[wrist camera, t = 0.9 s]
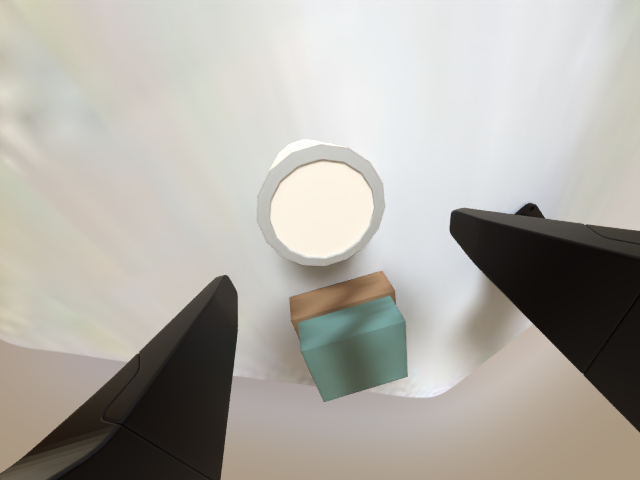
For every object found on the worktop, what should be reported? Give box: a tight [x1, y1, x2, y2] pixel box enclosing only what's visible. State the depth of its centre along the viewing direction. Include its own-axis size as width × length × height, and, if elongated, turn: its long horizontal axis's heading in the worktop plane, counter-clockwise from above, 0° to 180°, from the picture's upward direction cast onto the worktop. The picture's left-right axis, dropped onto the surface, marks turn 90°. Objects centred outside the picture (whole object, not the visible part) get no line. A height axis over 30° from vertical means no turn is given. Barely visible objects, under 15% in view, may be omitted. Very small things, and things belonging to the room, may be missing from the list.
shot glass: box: [257, 139, 385, 266], centre depth 15 cm, size 7×7×7 cm
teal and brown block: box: [290, 271, 408, 402], centre depth 24 cm, size 10×10×6 cm
